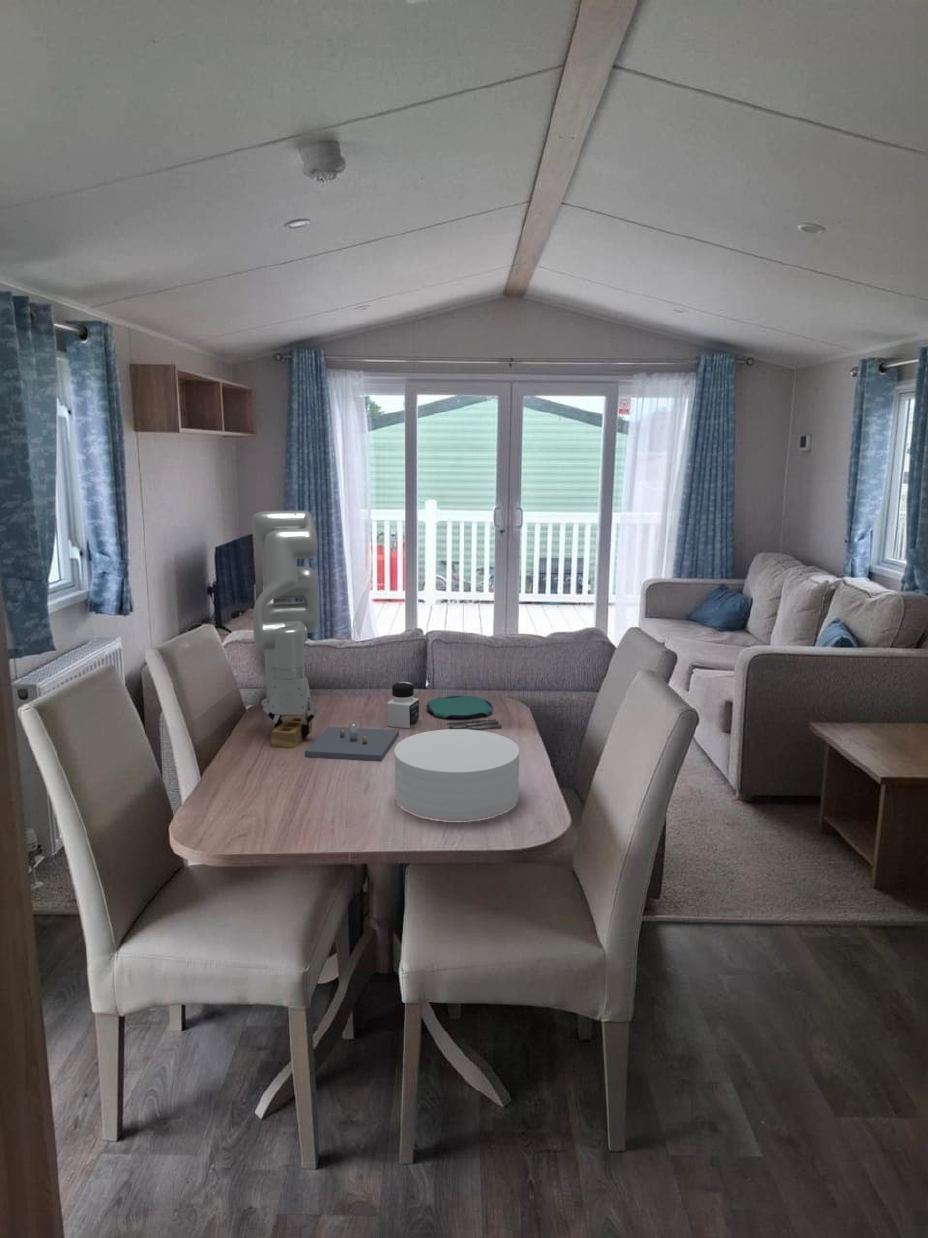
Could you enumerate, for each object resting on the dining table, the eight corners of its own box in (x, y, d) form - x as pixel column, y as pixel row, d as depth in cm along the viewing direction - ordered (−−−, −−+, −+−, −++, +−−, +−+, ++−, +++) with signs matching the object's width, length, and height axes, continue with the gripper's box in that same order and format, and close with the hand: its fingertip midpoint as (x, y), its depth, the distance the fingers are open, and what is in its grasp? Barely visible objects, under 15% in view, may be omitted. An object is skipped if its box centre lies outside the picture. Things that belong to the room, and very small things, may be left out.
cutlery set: (483, 699, 267) (483, 692, 267) (509, 731, 239) (509, 723, 238) (421, 704, 263) (421, 697, 263) (439, 736, 235) (439, 728, 234)
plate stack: (368, 800, 190) (367, 751, 188) (450, 765, 211) (450, 721, 209) (464, 835, 172) (464, 782, 170) (543, 794, 193) (544, 746, 191)
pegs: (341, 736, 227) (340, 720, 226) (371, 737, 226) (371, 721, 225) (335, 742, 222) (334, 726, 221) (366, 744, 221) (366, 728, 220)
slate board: (328, 731, 235) (328, 726, 235) (398, 735, 233) (398, 730, 232) (305, 756, 216) (304, 751, 216) (381, 761, 213) (381, 755, 213)
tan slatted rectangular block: (290, 729, 237) (289, 716, 236) (312, 730, 236) (311, 717, 235) (271, 746, 223) (271, 732, 223) (294, 747, 223) (294, 733, 222)
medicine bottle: (410, 729, 238) (409, 688, 236) (386, 726, 240) (386, 685, 238) (419, 721, 245) (419, 681, 242) (396, 719, 247) (396, 679, 245)
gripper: (253, 675, 224) (256, 739, 227) (316, 677, 221) (318, 743, 225) (264, 668, 231) (267, 730, 235) (325, 670, 229) (327, 734, 232)
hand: (292, 736), depth 230 cm, fingers closed on tan slatted rectangular block, 6 cm apart
